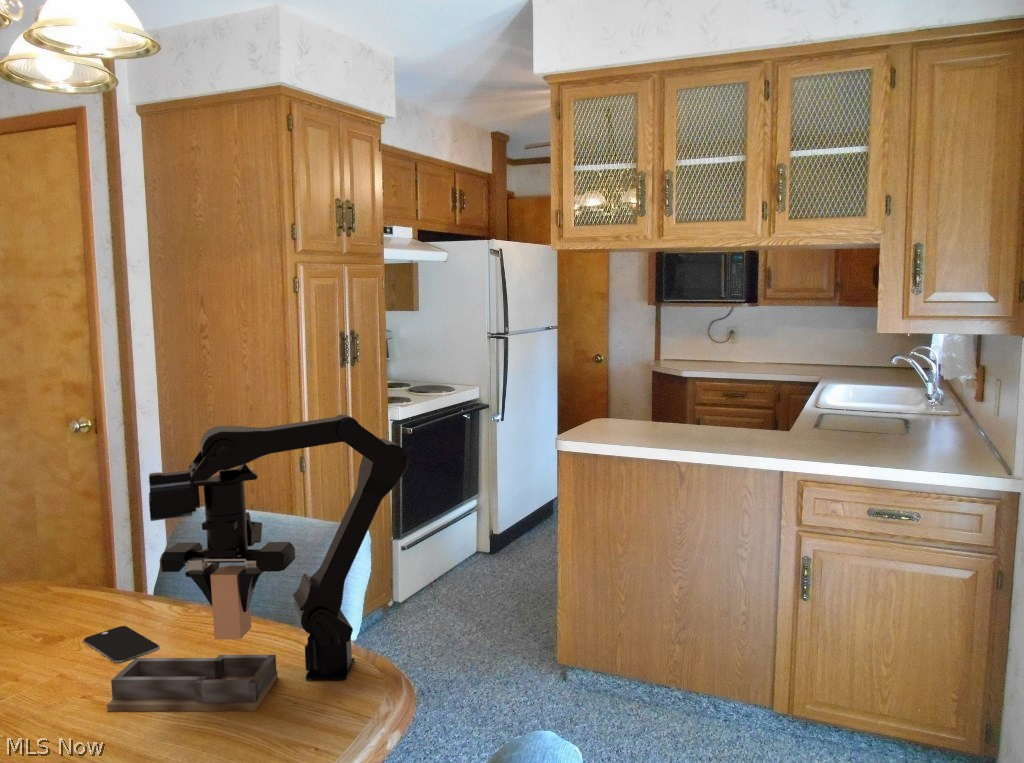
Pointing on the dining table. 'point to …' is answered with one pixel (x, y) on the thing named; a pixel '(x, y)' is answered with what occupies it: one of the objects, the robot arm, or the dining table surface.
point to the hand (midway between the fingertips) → (232, 611)
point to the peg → (228, 604)
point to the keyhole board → (194, 683)
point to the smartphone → (121, 644)
